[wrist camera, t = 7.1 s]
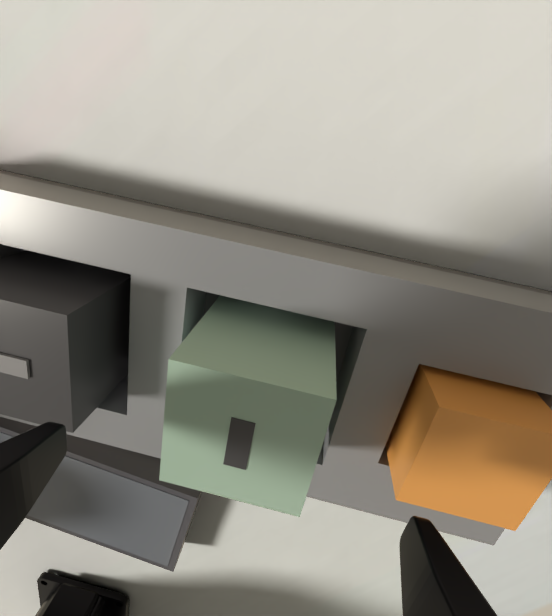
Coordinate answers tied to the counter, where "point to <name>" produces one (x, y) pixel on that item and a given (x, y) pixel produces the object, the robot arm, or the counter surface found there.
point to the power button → (470, 447)
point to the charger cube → (249, 404)
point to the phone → (114, 500)
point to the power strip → (248, 287)
